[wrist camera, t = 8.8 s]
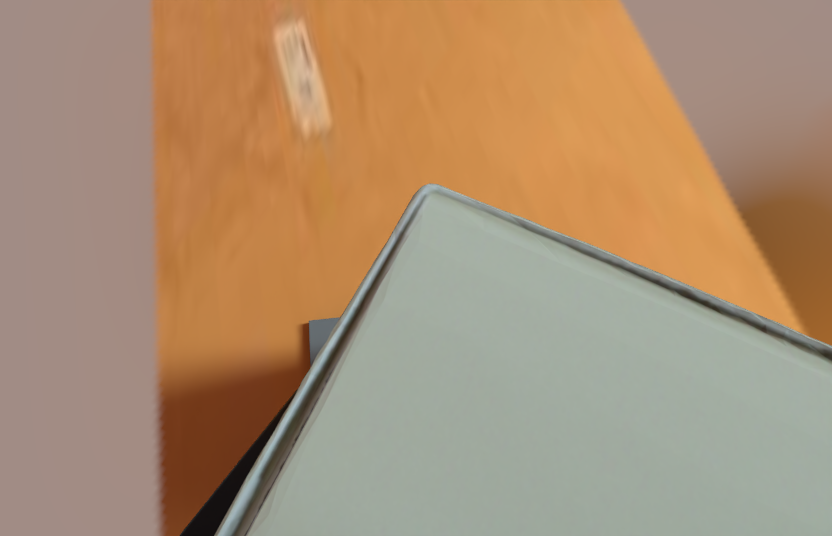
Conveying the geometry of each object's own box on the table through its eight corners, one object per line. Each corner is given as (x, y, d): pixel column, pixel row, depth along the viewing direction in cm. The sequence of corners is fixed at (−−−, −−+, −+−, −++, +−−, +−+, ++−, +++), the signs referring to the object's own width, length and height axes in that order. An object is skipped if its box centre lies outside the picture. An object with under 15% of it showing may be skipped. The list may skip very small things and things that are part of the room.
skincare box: (583, 405, 15) (1274, 524, 3) (536, 528, 14) (1288, 1518, 2) (420, 323, 15) (420, 147, 4) (365, 435, 14) (114, 696, 3)
